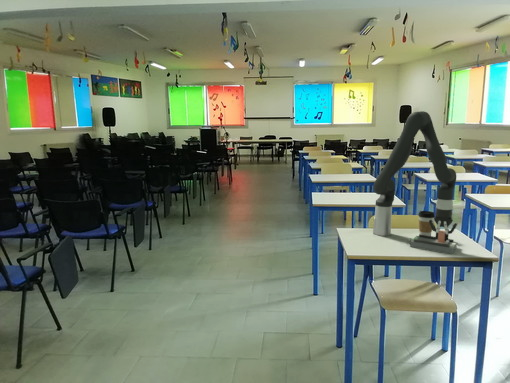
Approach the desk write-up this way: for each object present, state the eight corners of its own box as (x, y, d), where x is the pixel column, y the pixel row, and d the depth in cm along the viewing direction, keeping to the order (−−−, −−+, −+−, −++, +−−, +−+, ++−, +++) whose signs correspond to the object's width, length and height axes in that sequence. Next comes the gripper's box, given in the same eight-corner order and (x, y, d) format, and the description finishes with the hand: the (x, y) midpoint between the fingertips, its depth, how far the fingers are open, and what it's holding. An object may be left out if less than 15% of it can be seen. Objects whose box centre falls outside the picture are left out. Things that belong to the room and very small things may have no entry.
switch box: (410, 246, 204) (410, 239, 203) (416, 241, 213) (416, 233, 212) (451, 254, 192) (452, 246, 191) (456, 247, 201) (457, 239, 200)
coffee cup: (425, 240, 214) (426, 214, 212) (413, 236, 222) (415, 210, 219) (436, 238, 217) (438, 212, 215) (424, 234, 225) (426, 209, 222)
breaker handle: (433, 243, 199) (434, 232, 197) (436, 239, 204) (437, 229, 203) (446, 245, 195) (447, 234, 194) (449, 241, 200) (450, 231, 199)
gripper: (427, 207, 197) (425, 239, 200) (458, 210, 189) (455, 244, 192) (431, 204, 203) (429, 236, 206) (461, 207, 195) (458, 240, 198)
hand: (441, 239), depth 199 cm, fingers closed on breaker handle, 3 cm apart
